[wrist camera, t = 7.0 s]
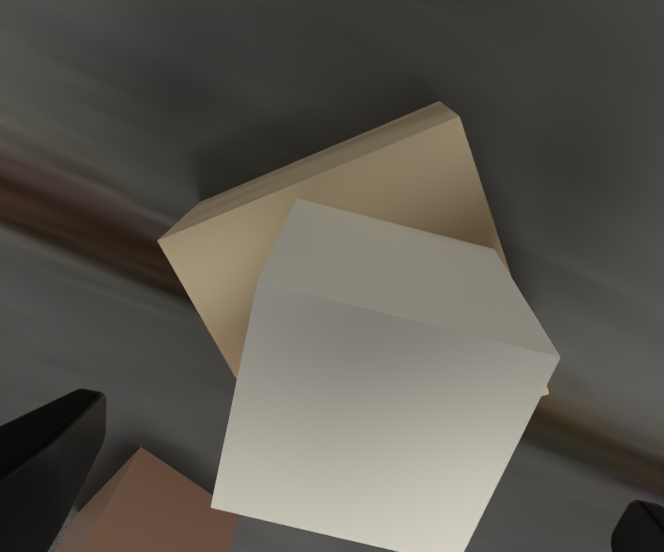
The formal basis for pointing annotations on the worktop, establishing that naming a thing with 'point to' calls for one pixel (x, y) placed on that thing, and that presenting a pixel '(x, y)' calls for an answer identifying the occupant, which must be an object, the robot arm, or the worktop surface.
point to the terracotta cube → (149, 514)
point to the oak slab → (334, 191)
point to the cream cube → (379, 383)
